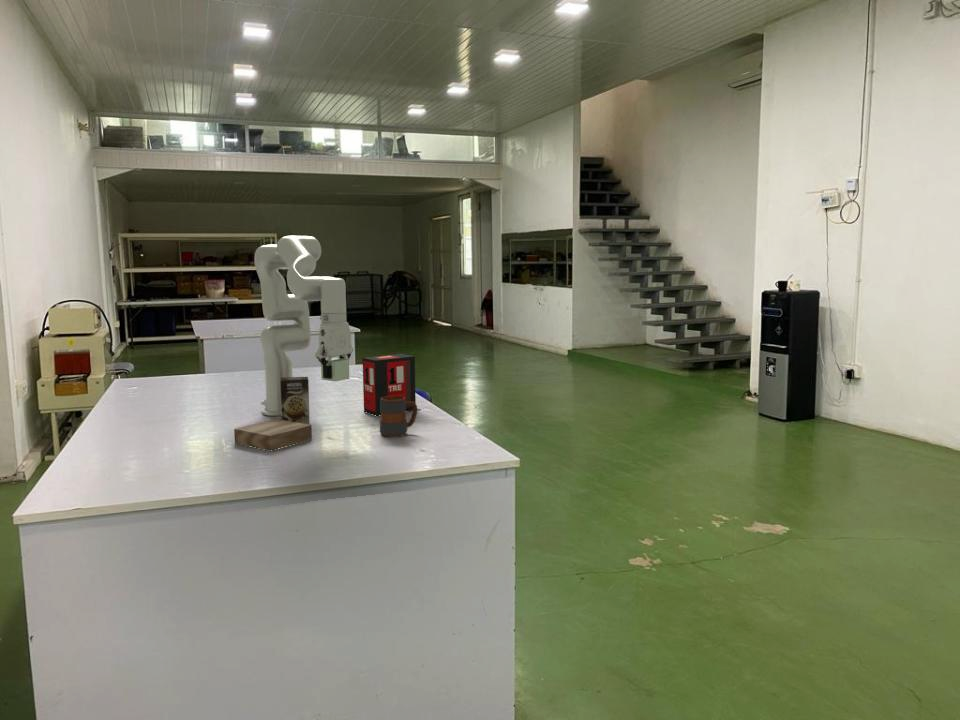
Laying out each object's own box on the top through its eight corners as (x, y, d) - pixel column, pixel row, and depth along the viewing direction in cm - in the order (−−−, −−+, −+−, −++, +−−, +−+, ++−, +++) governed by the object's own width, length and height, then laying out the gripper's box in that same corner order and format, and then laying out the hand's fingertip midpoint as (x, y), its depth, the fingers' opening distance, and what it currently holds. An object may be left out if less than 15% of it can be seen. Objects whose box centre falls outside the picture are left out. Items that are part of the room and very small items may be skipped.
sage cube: (321, 379, 217) (320, 360, 216) (335, 376, 222) (334, 357, 221) (335, 381, 213) (335, 362, 213) (349, 378, 218) (349, 359, 218)
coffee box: (281, 428, 230) (279, 380, 228) (281, 424, 236) (279, 377, 234) (310, 427, 233) (308, 378, 230) (309, 422, 239) (307, 375, 236)
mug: (420, 435, 221) (419, 399, 219) (381, 438, 218) (380, 401, 216) (415, 429, 229) (414, 394, 227) (378, 431, 226) (377, 396, 224)
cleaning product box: (402, 406, 265) (401, 353, 262) (415, 410, 258) (414, 356, 255) (363, 412, 254) (362, 357, 251) (376, 416, 248) (375, 360, 245)
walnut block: (234, 445, 212) (234, 428, 211) (276, 434, 225) (275, 418, 224) (271, 452, 203) (270, 435, 202) (312, 440, 216) (311, 424, 216)
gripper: (322, 321, 206) (323, 382, 208) (362, 317, 220) (363, 373, 223) (303, 320, 210) (306, 379, 212) (344, 316, 224) (346, 371, 227)
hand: (335, 376), depth 217 cm, fingers closed on sage cube, 6 cm apart
